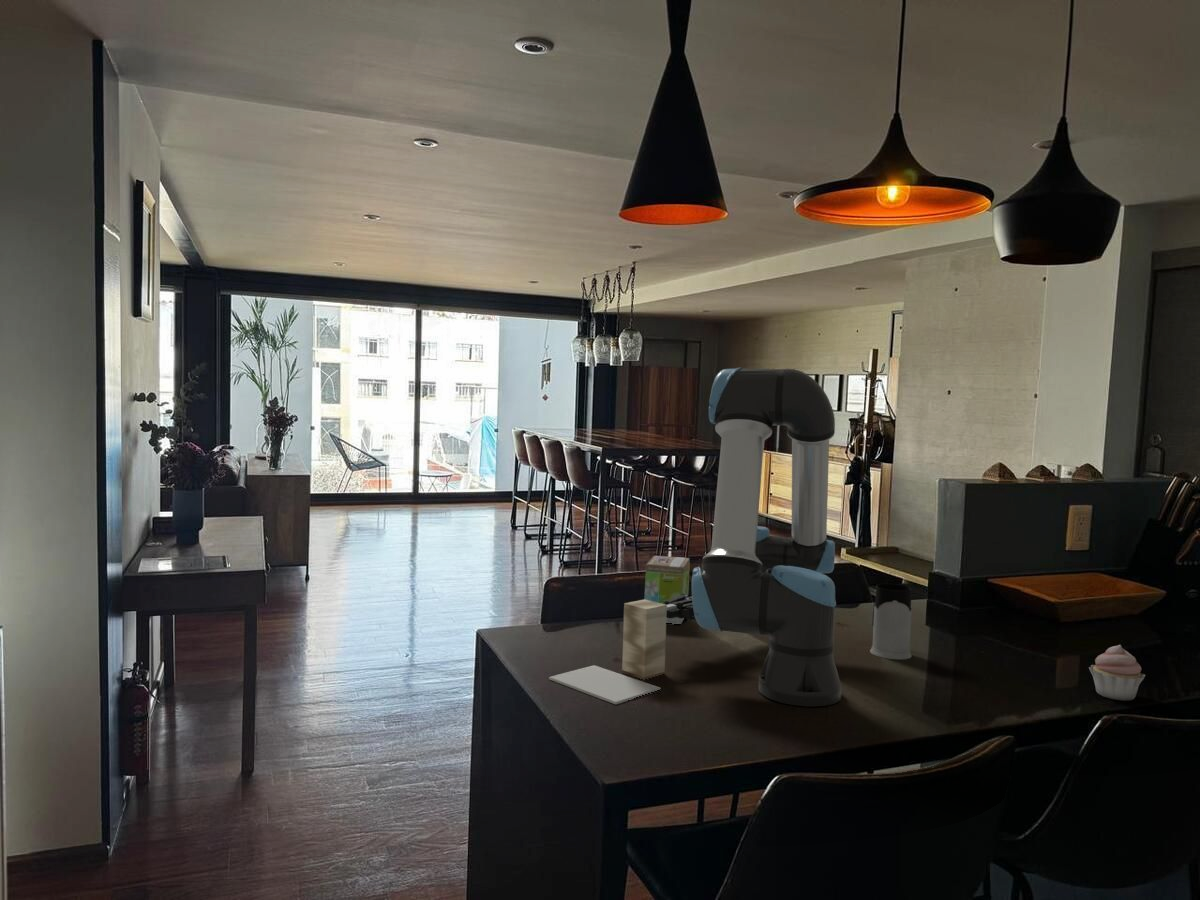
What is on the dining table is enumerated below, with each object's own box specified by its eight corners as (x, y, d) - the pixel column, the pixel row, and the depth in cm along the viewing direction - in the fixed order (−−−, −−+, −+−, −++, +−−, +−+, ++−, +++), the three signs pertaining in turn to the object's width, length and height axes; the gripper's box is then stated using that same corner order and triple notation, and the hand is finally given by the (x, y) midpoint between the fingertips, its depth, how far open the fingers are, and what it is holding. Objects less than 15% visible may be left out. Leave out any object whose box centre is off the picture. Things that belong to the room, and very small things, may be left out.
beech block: (664, 674, 167) (666, 604, 166) (644, 680, 163) (646, 609, 162) (642, 667, 171) (644, 599, 171) (621, 672, 167) (624, 603, 166)
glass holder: (871, 657, 183) (874, 589, 182) (866, 640, 197) (869, 577, 196) (914, 661, 181) (917, 592, 180) (906, 644, 195) (909, 580, 194)
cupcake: (1132, 707, 155) (1135, 654, 155) (1079, 693, 163) (1081, 642, 162) (1153, 698, 161) (1156, 647, 160) (1100, 685, 168) (1103, 635, 168)
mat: (660, 690, 157) (660, 687, 157) (615, 704, 149) (615, 701, 149) (593, 667, 170) (594, 665, 170) (549, 679, 161) (549, 676, 161)
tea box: (682, 626, 206) (684, 566, 205) (642, 622, 208) (644, 563, 207) (688, 612, 221) (690, 556, 220) (650, 609, 223) (652, 554, 222)
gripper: (747, 622, 181) (676, 640, 165) (700, 611, 191) (628, 627, 174) (749, 588, 181) (677, 603, 165) (702, 578, 190) (630, 591, 174)
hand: (652, 615), depth 169 cm, fingers closed
